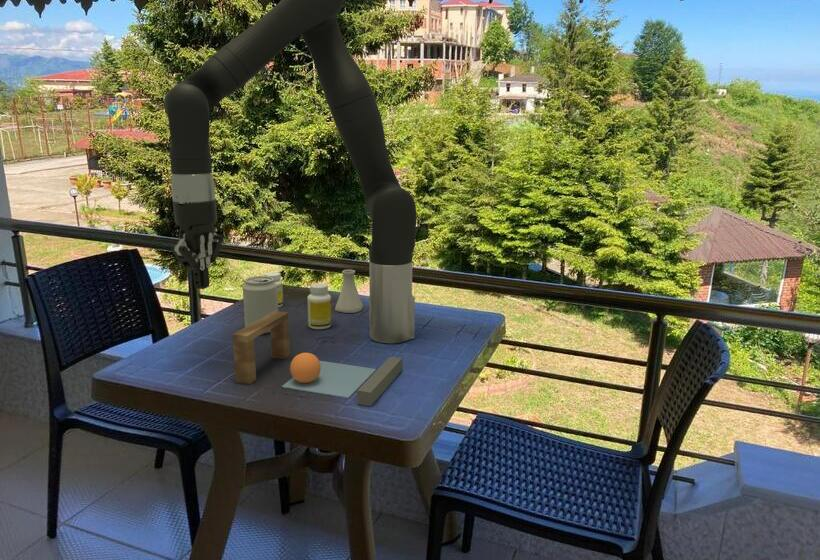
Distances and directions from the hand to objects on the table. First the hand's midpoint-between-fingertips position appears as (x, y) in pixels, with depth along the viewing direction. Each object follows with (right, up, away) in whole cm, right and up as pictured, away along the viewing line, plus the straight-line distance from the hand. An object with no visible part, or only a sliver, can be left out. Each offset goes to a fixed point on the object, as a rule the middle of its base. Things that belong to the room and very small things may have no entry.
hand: (202, 287), depth 117 cm
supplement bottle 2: (+19, -9, +24) cm, 32 cm away
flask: (+25, -6, +37) cm, 44 cm away
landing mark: (+25, -17, -4) cm, 31 cm away
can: (+6, -10, +21) cm, 24 cm away
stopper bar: (+35, -18, -7) cm, 40 cm away
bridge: (+12, -15, 0) cm, 20 cm away
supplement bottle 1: (+5, -5, +39) cm, 40 cm away
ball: (+21, -14, -7) cm, 26 cm away
